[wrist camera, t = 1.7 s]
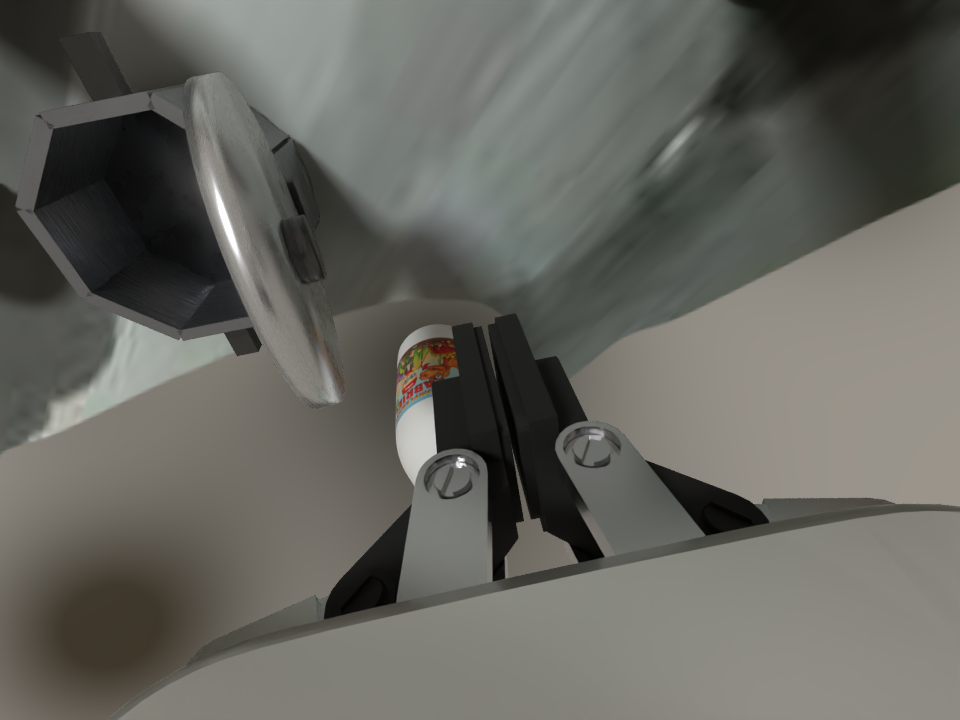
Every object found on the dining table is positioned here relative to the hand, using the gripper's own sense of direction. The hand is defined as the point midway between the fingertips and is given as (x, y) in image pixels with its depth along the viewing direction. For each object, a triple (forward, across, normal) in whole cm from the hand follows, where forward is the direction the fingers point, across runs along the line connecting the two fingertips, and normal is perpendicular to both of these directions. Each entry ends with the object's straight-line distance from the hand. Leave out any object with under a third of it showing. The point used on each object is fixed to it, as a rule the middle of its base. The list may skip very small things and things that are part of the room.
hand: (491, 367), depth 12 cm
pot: (+28, +16, 0) cm, 32 cm away
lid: (+12, +8, 0) cm, 15 cm away
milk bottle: (+28, +4, +18) cm, 33 cm away
